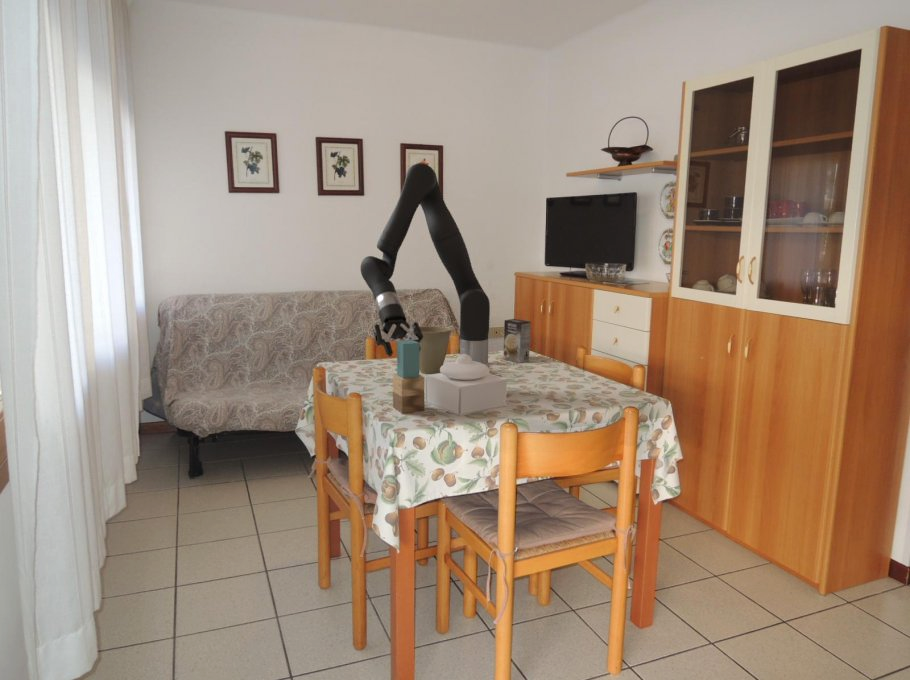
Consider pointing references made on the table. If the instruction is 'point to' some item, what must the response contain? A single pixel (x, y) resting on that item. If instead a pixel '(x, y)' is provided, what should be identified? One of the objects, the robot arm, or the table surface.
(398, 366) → the teal pillar
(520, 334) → the coffee box
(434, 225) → the robot arm
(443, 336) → the plant pot
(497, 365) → the table surface
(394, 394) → the walnut block
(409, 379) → the oak block
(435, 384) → the butter dish
